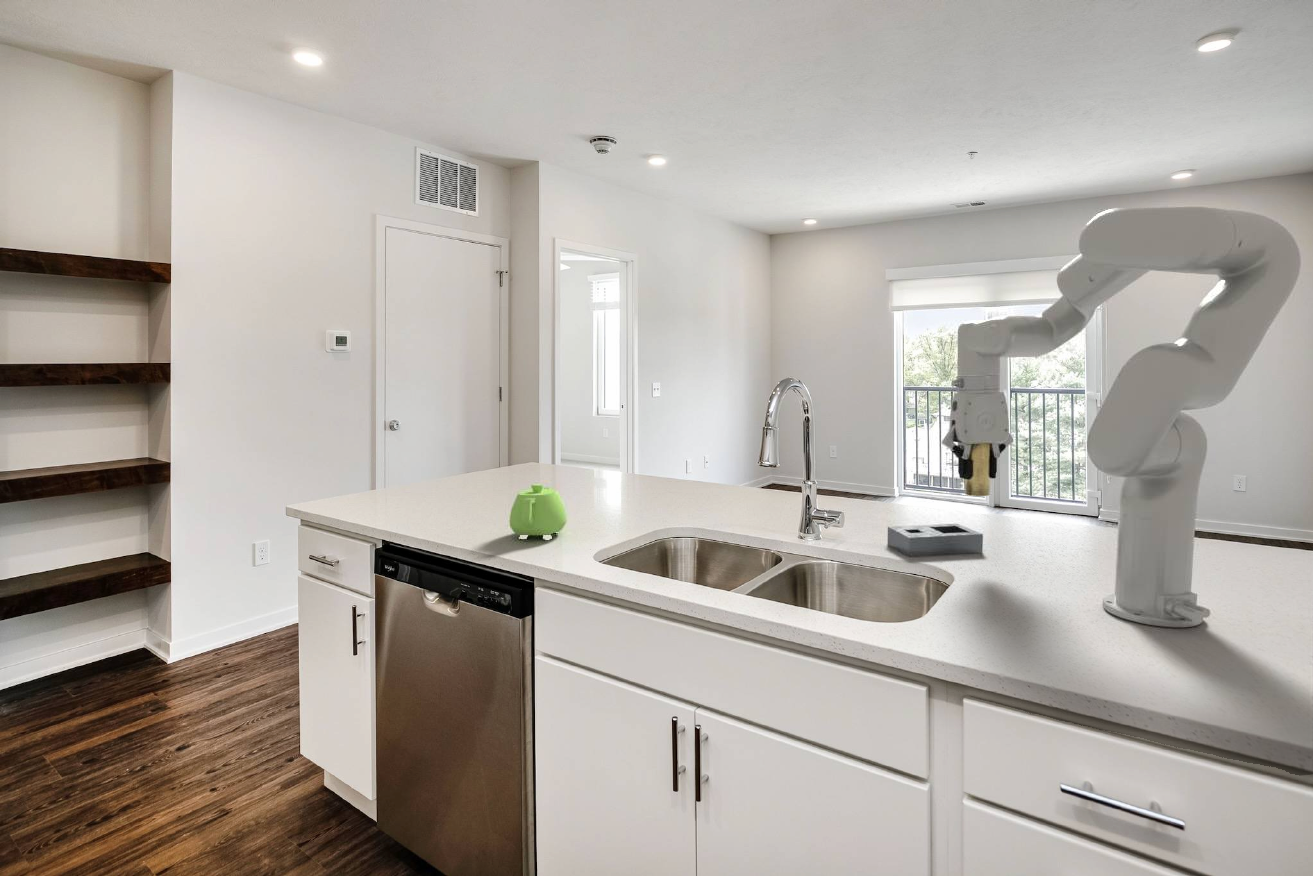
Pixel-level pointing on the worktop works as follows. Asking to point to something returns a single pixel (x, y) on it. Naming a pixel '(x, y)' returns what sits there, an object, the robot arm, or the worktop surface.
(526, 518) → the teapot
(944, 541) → the block
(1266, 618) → the worktop surface
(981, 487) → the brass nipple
